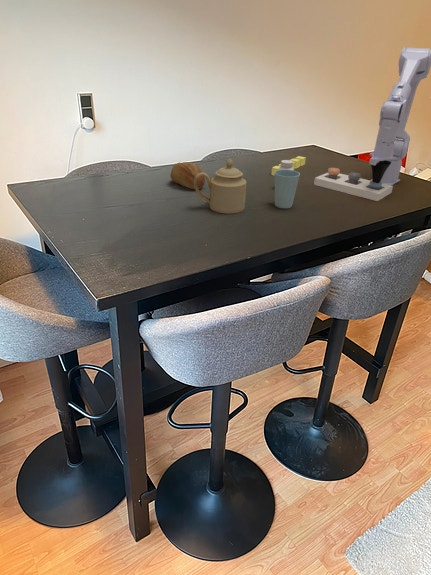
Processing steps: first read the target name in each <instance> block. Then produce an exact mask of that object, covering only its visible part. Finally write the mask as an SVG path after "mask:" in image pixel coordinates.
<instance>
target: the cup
mask: <svg viewBox="0 0 431 575" xmlns="http://www.w3.org/2000/svg"><path fill="white" fill-rule="evenodd" d="M300 176H301V173H300V172H299V171H296V170H294V171H293V170H277V171H275V176H274V206H275V207H277V208H279V209H290V208H293V204H294V200H295V196H296V191H297V188H298V184H299V183H298V182H299V179H300Z"/></svg>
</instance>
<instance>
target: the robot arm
mask: <svg viewBox="0 0 431 575" xmlns="http://www.w3.org/2000/svg"><path fill="white" fill-rule="evenodd" d="M430 70H431V48H423V47H420V48H419V47H407V46H405V47H403V48H402V49H401V52H400V55H399V58H398V74H399V79H398V82H396V83H395V84H394V85H393V86H392V88H391V91H390V93H389V95H388V98H387V100H386V102H385V101H384V102H383V103H382V105H381V108H380V113H379V121H378V126H379V127H378V132H377V135H376V136H377V137H376V140H375V144H374V145H375V146H374V150H373V151H372V152H370V153H369V156H370V157H371V158H370V159H369V165H370V167H371V173H372V176H371V179H370V181H372V182H375V183H380V182H382V183H383V184H387V185H391V186H394V185H395V184H397V183H399V182H400V181H401V179H400V178H399V177H400V174H401V168H402V165H403V163H402V160H403V159H404V158H405V157H406V156H407V153H408V150H409V145H410V141H411V136H410V135H409V134H408V132H407V131H406V130H405V129H406V125H407V123H408V120H409V119H408V118H409V116H410V113H411V109H412V106H413V103H414V99H415V97H416V96H415V95H416V92H417V89H418V87H419V84H420V82H421V81H422V80H424V79H427V78H428V76H429V74H430Z"/></svg>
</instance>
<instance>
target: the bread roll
mask: <svg viewBox="0 0 431 575" xmlns="http://www.w3.org/2000/svg"><path fill="white" fill-rule="evenodd" d="M201 172H203V170H202V168H200V167H199V166H198V164H195V163H193V162H187V161H184V162H179V161H178V163H174V165H173V166H172V167H171V171H170V179H171V180H172V181H173V183H175V184H177V185H181V186H183V187H185V188H188V189H192V190H196V189H195V186H194V179H195V177H196V175H197V174H199V173H201ZM205 183H206V177H205V176H201V177H199V178H198V181H197V186H198V189H199V190H200V189H202V188H203V187H204V186H205Z"/></svg>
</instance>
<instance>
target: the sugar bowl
mask: <svg viewBox="0 0 431 575" xmlns="http://www.w3.org/2000/svg"><path fill="white" fill-rule="evenodd" d="M233 163H234V162H233V160H232V159H231V158H228V159H227V160H226V163H225V164H226V166H224V167H221V168H219V169H218V170H216V171H215V176H214V177H212V178H210V175H208V173H206V172H205V171H202V172H201V173H199V174H197V175H196V177H195V179H194V186H195V189H194V190H195V191H196V193H197V194H198V196H200V197H201V198H202V199H203V200H205V201H206V202H207V203H208V204H209V208H210V209H211V210H212V211H213V212H216V213H219V214H227V215H228V214H231V215H233V214H238V213H241V212H244V210H245V208H246V207H245V206H246V197H247V183H248V182H247V179H245V178H243V175H244V174H243V172H242V171H241V170H240V169H239V168H235V167H234V166H233ZM232 166H233V167H232ZM201 176H204V177H205V179H206V180H207V185H208V188H209V197H207V195H205V194H203V193H202V191H201V190H200V189H198V186H197V181H198V178H199V177H201Z"/></svg>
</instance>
